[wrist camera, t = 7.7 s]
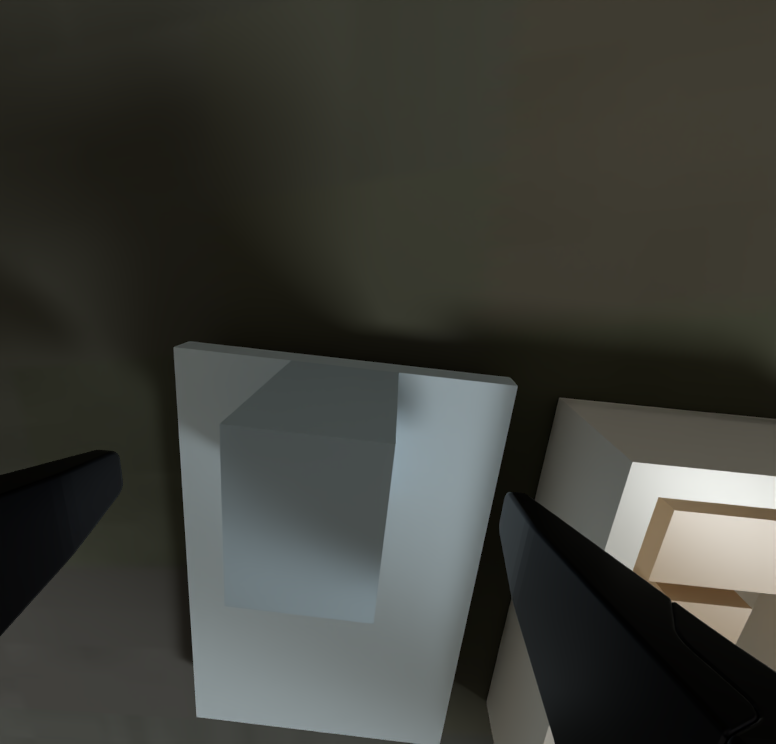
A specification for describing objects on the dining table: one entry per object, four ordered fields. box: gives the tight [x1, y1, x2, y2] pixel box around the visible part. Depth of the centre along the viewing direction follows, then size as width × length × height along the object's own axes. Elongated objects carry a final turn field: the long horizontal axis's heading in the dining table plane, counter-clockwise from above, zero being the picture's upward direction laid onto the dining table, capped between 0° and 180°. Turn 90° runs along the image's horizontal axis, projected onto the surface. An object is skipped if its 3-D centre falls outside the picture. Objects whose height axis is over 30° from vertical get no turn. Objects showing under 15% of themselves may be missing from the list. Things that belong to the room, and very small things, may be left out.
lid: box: [173, 341, 518, 744], centre depth 11 cm, size 15×10×6 cm, turn 174°
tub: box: [486, 398, 776, 744], centre depth 12 cm, size 14×9×4 cm, turn 175°
